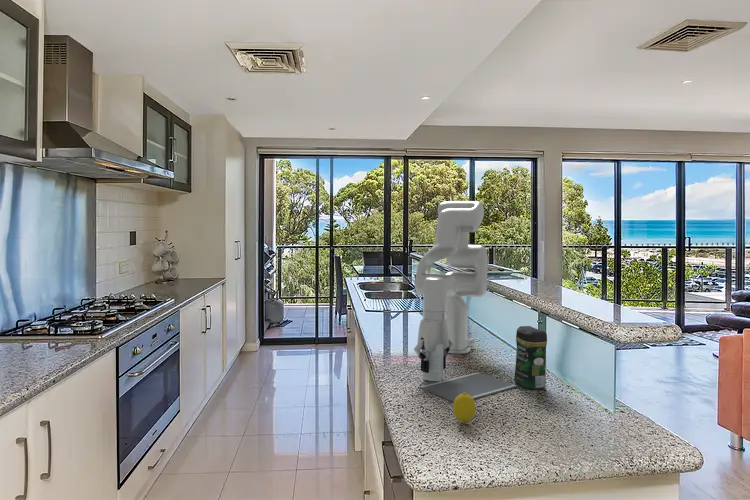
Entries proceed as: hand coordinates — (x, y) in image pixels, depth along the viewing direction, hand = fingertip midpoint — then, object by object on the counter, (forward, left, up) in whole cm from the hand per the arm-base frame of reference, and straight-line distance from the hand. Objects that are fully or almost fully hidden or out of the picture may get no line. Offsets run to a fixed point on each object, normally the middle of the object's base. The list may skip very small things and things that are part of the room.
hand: (433, 369), depth 156 cm
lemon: (+17, +30, -3) cm, 35 cm away
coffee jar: (-22, +21, -3) cm, 31 cm away
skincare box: (0, 0, -3) cm, 3 cm away
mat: (-4, +12, -3) cm, 13 cm away
